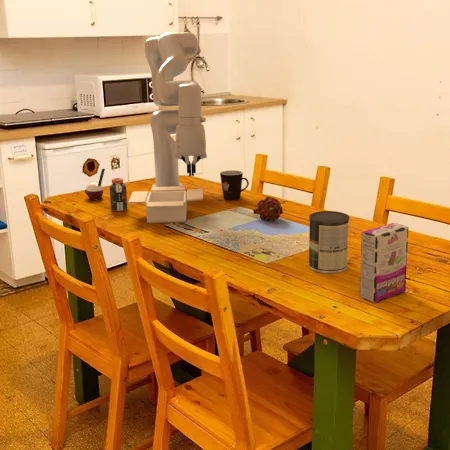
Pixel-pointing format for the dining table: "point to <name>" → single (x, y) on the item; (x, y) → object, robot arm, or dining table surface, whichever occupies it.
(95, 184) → the cocoa
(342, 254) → the coffee can
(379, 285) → the candy bar box
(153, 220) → the carton
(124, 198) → the pill bottle
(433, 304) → the dining table surface
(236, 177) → the coffee mug
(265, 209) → the dark red rounded piece
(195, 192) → the flap
